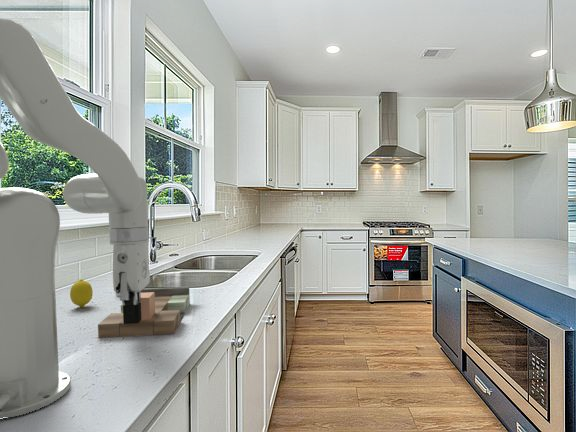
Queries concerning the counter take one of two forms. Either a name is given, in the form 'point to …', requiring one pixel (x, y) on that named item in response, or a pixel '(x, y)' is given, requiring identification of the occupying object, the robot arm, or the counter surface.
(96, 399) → the counter surface
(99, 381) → the counter surface
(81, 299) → the lemon
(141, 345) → the counter surface
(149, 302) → the block
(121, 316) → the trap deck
